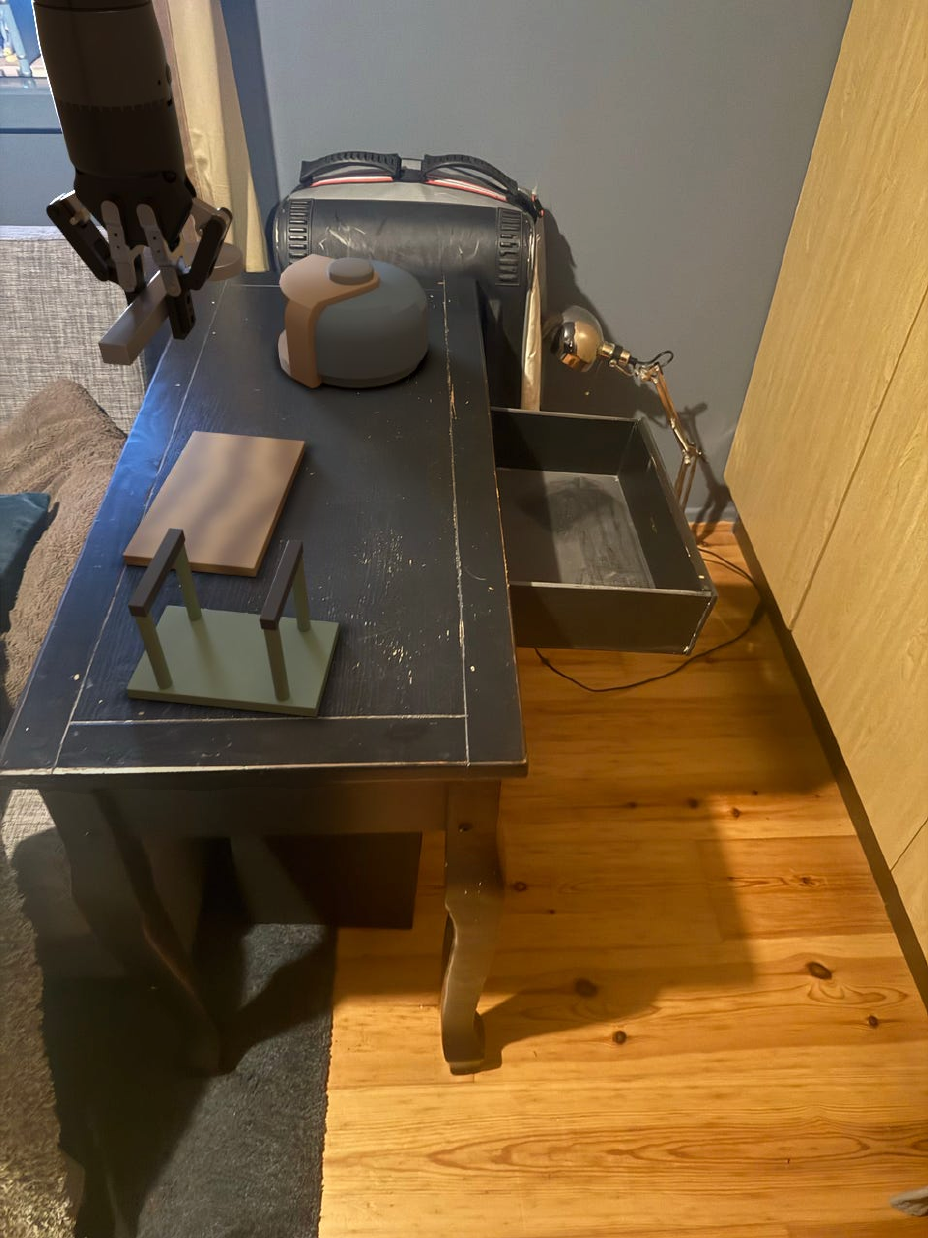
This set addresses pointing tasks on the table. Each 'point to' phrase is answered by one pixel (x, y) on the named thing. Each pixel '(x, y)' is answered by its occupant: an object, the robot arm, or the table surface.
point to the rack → (231, 643)
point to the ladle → (157, 309)
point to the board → (221, 502)
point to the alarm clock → (351, 322)
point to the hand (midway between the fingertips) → (167, 332)
